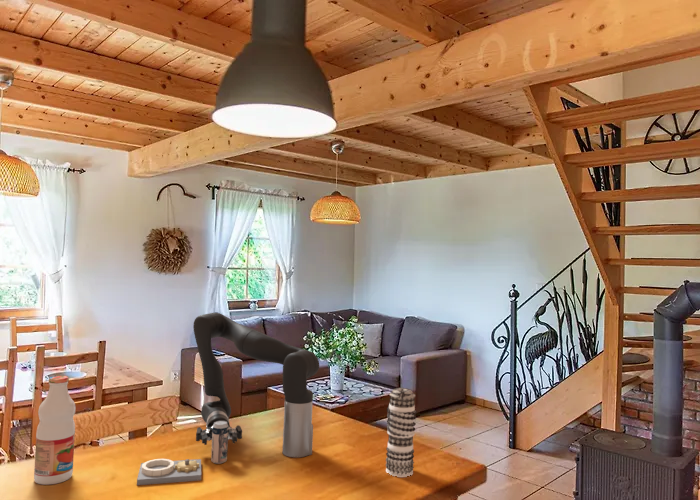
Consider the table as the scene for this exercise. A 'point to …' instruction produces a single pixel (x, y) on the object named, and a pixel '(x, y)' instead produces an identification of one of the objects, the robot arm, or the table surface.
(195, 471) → the gear board
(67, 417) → the fruit juice
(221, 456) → the beer can
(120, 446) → the table surface
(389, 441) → the decorative candle
